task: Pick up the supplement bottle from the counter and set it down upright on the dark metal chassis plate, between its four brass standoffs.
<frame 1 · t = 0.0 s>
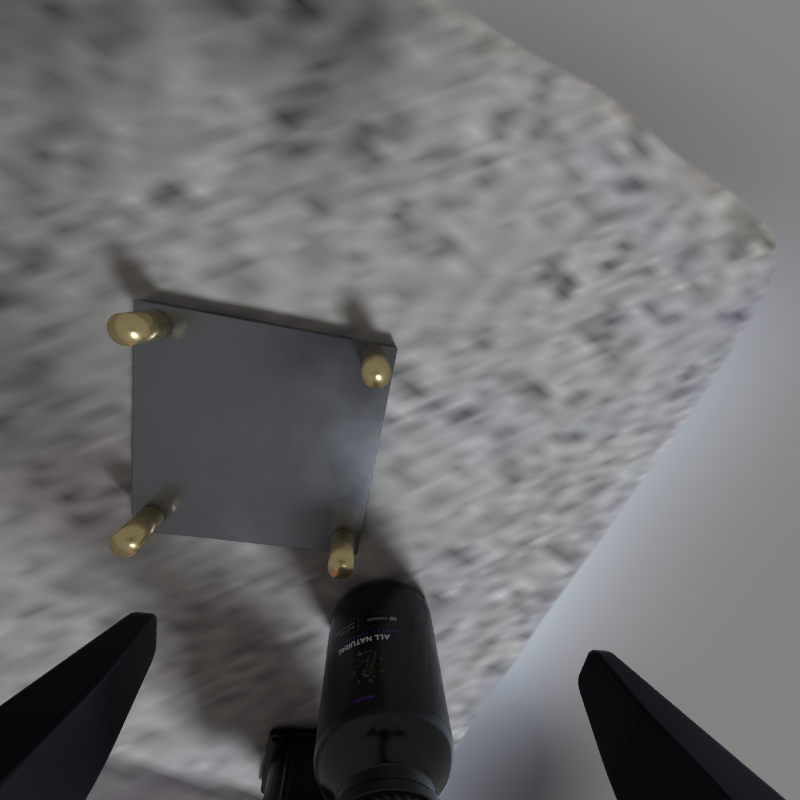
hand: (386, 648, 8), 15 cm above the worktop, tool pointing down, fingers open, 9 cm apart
chassis plate: (263, 437, 22), on the worktop
supplement bottle: (380, 614, 26), on the worktop
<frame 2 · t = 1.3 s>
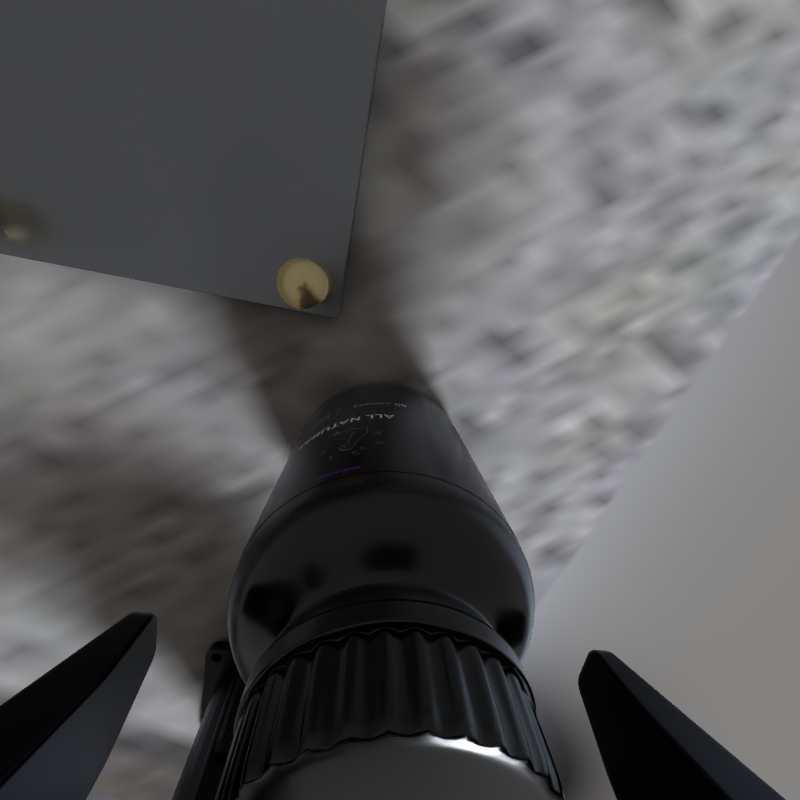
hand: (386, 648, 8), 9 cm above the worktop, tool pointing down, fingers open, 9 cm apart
chassis plate: (162, 67, 12), on the worktop
supplement bottle: (377, 453, 16), on the worktop
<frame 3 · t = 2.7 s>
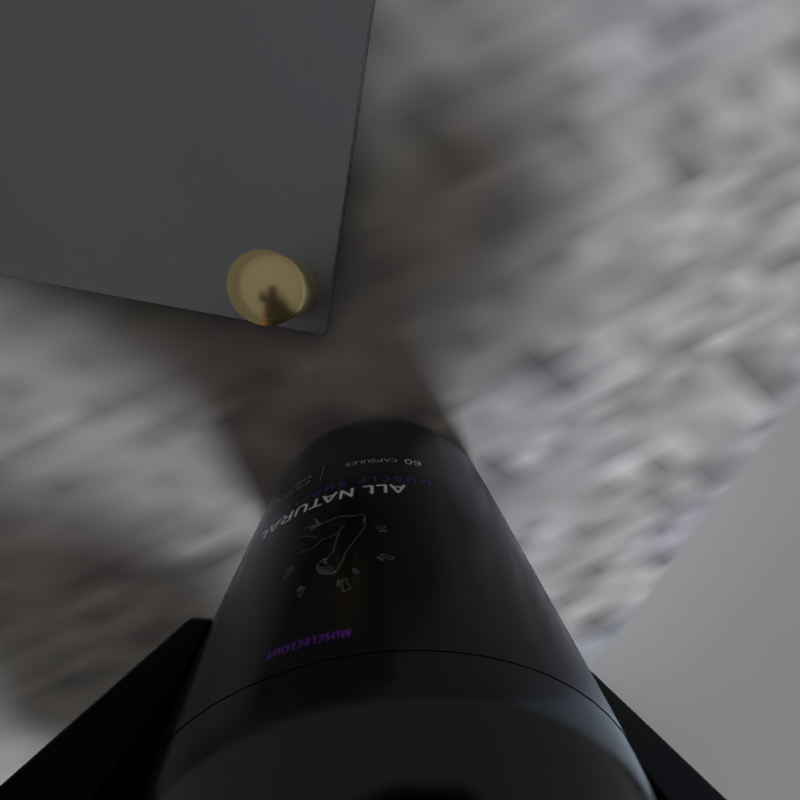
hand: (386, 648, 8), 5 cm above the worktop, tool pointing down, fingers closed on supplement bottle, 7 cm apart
supplement bottle: (379, 506, 13), on the worktop, touching gripper
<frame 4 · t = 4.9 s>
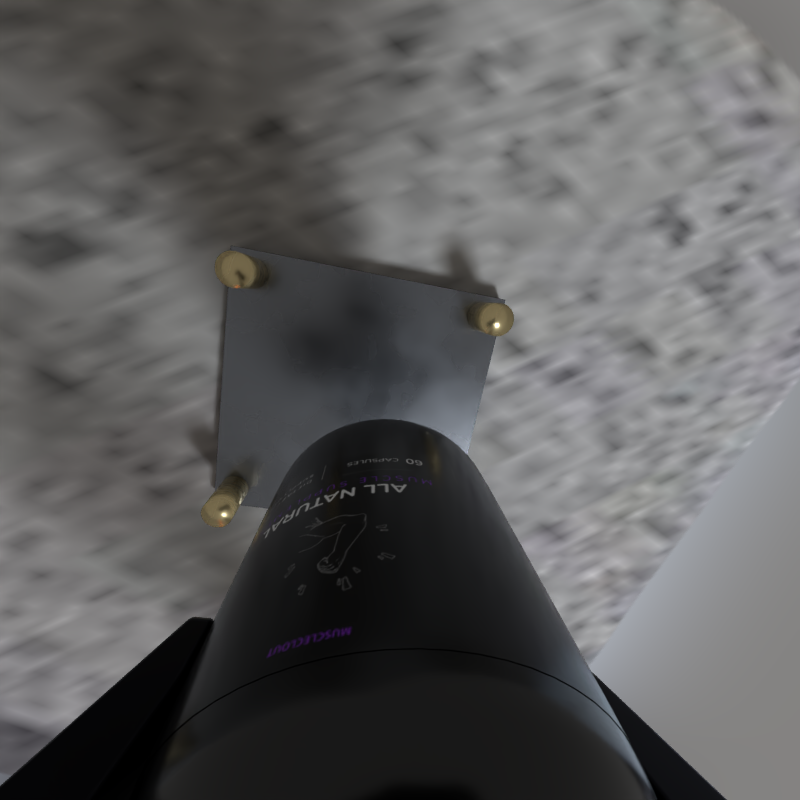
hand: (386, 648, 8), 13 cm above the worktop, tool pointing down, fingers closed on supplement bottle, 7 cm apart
chassis plate: (354, 400, 20), on the worktop
supplement bottle: (381, 506, 13), point 8 cm above the worktop, touching gripper
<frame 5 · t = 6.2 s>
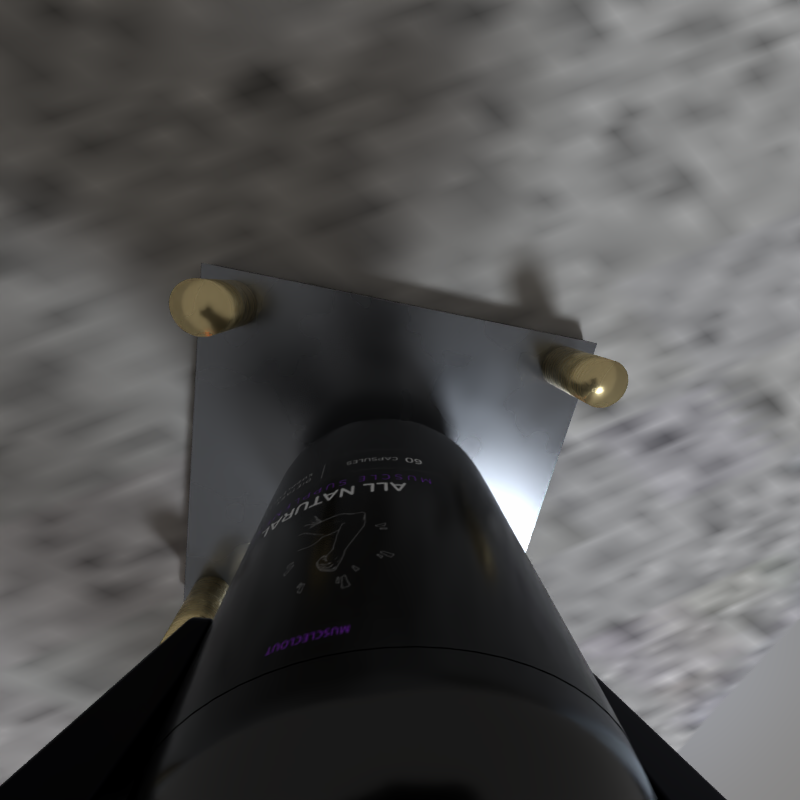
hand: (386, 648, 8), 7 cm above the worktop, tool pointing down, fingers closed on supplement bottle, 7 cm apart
chassis plate: (376, 474, 15), on the worktop
supplement bottle: (380, 505, 13), point 2 cm above the worktop, touching gripper
when the fingers open (7 cm above the worktop, at t = 7.0 s): supplement bottle drops 1 cm, resting on chassis plate.
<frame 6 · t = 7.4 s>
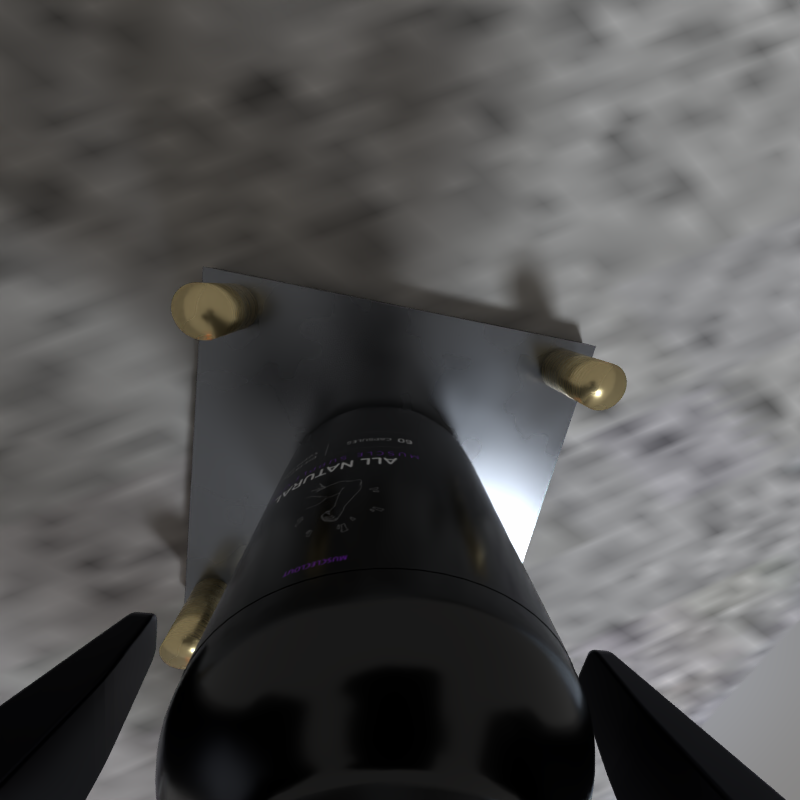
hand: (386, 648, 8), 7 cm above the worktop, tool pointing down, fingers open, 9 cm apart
chassis plate: (376, 476, 15), on the worktop
supplement bottle: (378, 486, 14), point 1 cm above the worktop, touching chassis plate
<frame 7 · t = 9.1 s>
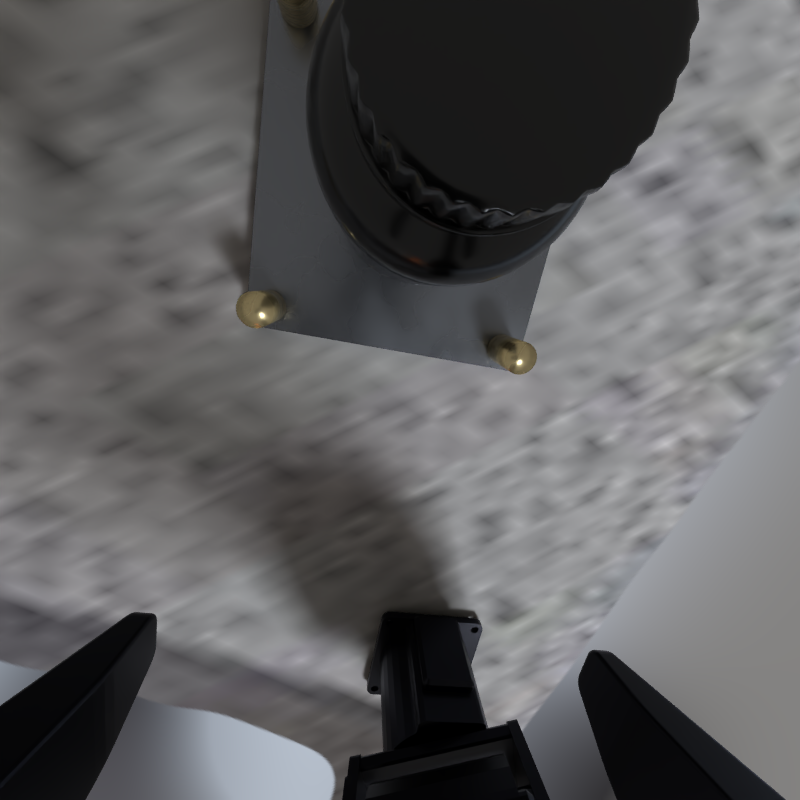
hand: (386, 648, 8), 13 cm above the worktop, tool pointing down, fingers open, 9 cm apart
chassis plate: (411, 204, 17), on the worktop
supplement bottle: (414, 203, 16), point 1 cm above the worktop, touching chassis plate
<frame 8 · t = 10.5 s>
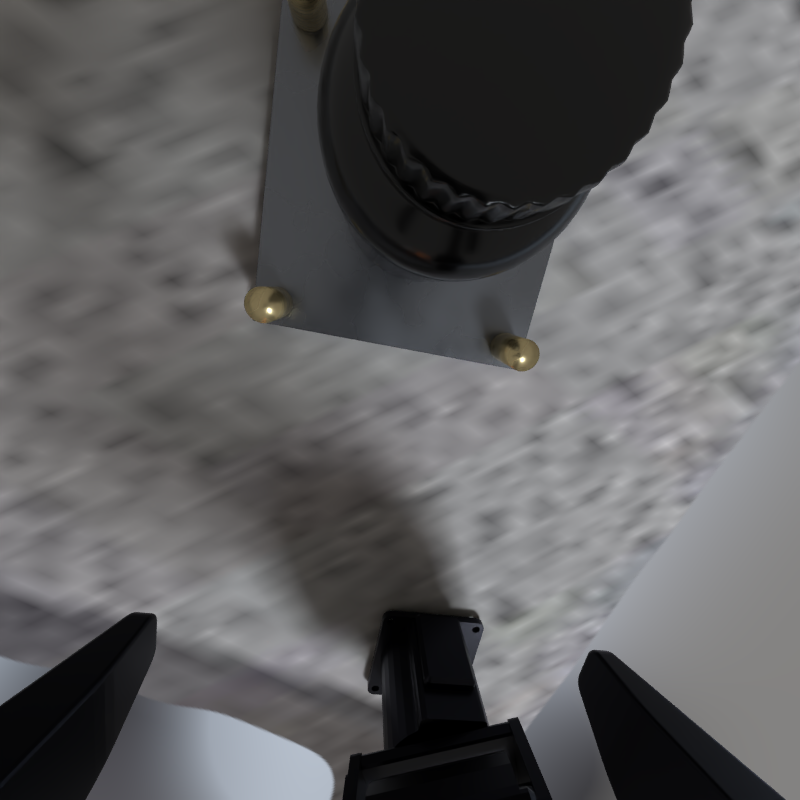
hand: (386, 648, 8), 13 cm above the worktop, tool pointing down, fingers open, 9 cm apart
chassis plate: (416, 204, 17), on the worktop
supplement bottle: (419, 202, 17), point 1 cm above the worktop, touching chassis plate
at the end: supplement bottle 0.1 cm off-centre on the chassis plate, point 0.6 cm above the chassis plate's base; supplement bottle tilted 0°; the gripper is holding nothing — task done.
